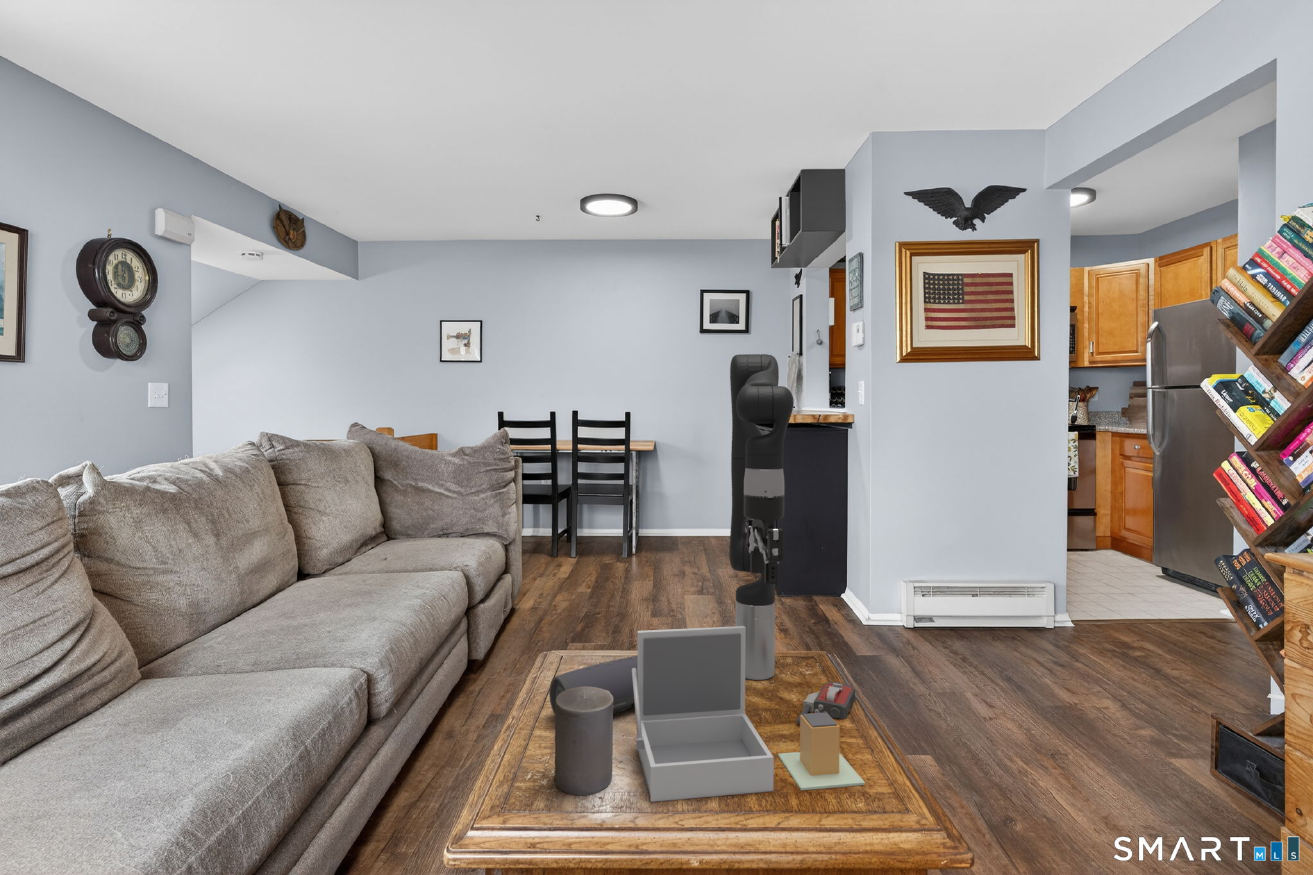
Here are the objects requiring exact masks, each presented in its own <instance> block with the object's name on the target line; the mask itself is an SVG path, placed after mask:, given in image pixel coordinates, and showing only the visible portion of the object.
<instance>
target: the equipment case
mask: <svg viewBox="0 0 1313 875" xmlns="http://www.w3.org/2000/svg"><path fill="white" fill-rule="evenodd" d="M745 639H746V628H745V626H736V625H733V626H717V627H713V626H712V627H695V628H694V627H693V628H692V627H689V628H672V629H652V630H649V629H647V630H637V655H636V656H637V673H636V668H633V669H632V679H633V691H634V703H633V704H634V713H635V724H636V736H635V747H636V748H635V749H636V750H637V752H638V756H639V761H640V764H641V768H642V773H643V776H644V780H645V784H646V788H647V791H648V796H649V800H650V802H651V803H652V802H653V803H654V802H663V801H675V800H676V801H677V800H684V799H685V800H687V799H697V798H698V799H699V798H700V799H701V798H709V797H710V798H711V797H722V796H731V795H745V794H755V793H757V794H758V793H764V792H765V793H766V792H767V793H768V792H774V769H775V767H774V766H775V764H774V761H775V758H774V755H773V754H772V752H771V751H770V750H769V748H768V747H767V745H766V743H765V741H764V740H763V738H762V737H761V736H760V734H759V733H758V731H757V730H756V728H755V727H754V725H753V723H752V721H751V720H750V719H749V717H748V716H747V714H746V678H745Z"/></svg>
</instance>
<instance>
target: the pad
mask: <svg viewBox="0 0 1313 875" xmlns="http://www.w3.org/2000/svg"><path fill="white" fill-rule="evenodd" d="M777 757H778V758H779V759H780V761H781V762H782V764H783V765H784V767H785V769H786V770H787V772H788V773H789V774H790V776H791V778H792V779H793V780H794V782H795V784H796V785H797V787H798V788H799V789H800V791H809V790H820V789H821V790H822V789H832V788H833V789H835V788H845V787H856V786H857V787H858V786H865V785H866V782H865V781H864V779H863V778H862V777H861V775H859V773H858V772H856V770H855V769H854V767H852V766H851V764H850V763H849V762H848V761H847V759H846V758H845V757H844V756H843V755H842V754H841V752H839V773H838V774H826V775H814V776H811V775H810V774H809V772H808V771H807V770H806V768H805V767H804V765H803V764H802V763H801V761H800V751H793V752H792V751H791V752H782V753H781V752H780V753H778V754H777Z"/></svg>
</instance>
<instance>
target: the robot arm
mask: <svg viewBox="0 0 1313 875" xmlns="http://www.w3.org/2000/svg"><path fill="white" fill-rule="evenodd" d="M729 366H730V368H729V370H730V371H729V376H730V378H729V380H730V382H729V383H730V400H731V401H730V402H731V403H730V404H731V422H732V423H731V452H730V453H731V455H730V456H731V458H730V459H731V460H730V462H731V463H730V467H731V468H730V473H731V517H730V518H731V521H730V534H729V552H728V553H729V563H730V566H731V568H732V570H734V571H737V572H746V573H752V574H760V577H759V578H757V580H754V581H752V582H749V583H746V584H742V585H739V586H738V587H737V588H736V590H735V626H745V628H746V639H745V680H746V679H747V680H752V681H753V680H754V681H762V680H768V679H770V678H774V676H775V657H776V655H775V654H776V653H775V651H776V650H775V648H776V647H775V646H776V645H775V644H776V641H775V640H776V637H775V636H776V634H775V633H776V625H775V624H776V584H777V583H778V564H780V563H783V562H784V557H783V556H784V555H783V554H784V553H783V552H784V550H783V549H784V548H783V547H784V546H783V540H784V539H783V528H777V527H776V520H781V519H783V518H784V517H785V475H784V445H785V438H786V435H787V434H786V433H787V429H788V426H789V423H790V420H791V417H792V415H793V414H792V413H793V410H794V405H795V402H794V401H795V399H794V396H793V393H792V392H791V390H790V389H789V388H788V387H786V386H783V385H781V386H780V385H779V379H780V376H779V375H780V374H779V364H778V360H777V359H776V357H775V356H773V355H772V354H767V353H766V354H765V353H764V354H763V353H757V354H756V353H752V354H751V353H750V354H735V355H734V356H732V358H731V360H730V365H729ZM756 424H766V425H767V424H769V425H770V424H772V425H773V427H772V429H771V431H769V432H768V433H766V434H763V433H762V432H761V430H760V429H759V428H758V426H757V425H756Z"/></svg>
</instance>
